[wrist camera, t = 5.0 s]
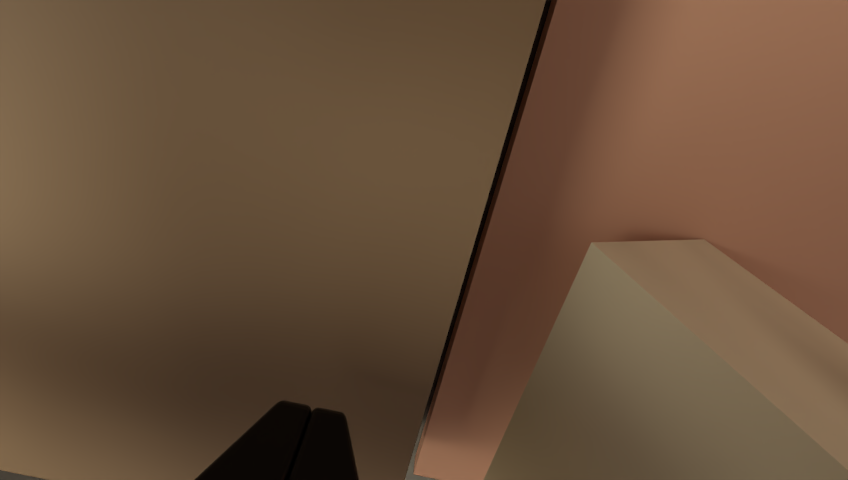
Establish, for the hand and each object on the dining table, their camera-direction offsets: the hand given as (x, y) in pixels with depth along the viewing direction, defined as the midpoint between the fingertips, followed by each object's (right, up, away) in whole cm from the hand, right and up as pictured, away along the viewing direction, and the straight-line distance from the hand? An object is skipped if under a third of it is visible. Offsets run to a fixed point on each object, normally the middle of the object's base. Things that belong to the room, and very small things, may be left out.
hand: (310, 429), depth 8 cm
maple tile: (+4, -1, +1) cm, 4 cm away
